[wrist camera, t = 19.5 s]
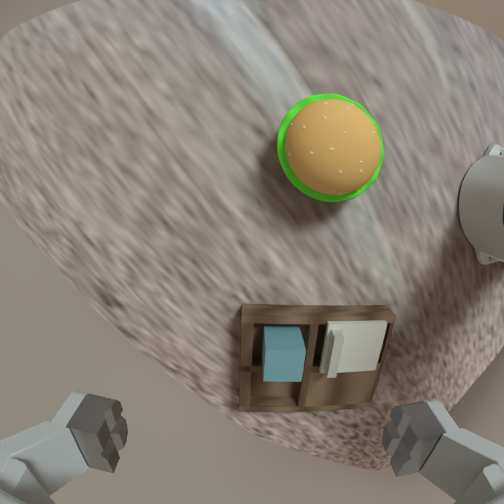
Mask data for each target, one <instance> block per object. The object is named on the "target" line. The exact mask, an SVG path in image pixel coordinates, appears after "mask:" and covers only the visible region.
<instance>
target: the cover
mask: <svg viewBox="0 0 504 504" xmlns="http://www.w3.org/2000/svg"><path fill="white" fill-rule="evenodd" d="M386 327H387V322H386V320H372V321H327V327H326V333H325V339H324V345H323V351H322V357H321V362H320V368H319V371H320V373H326V376H327V378H334V377H336V375H337V373H342V372H359V371H373V370H376V366H377V362H378V359H379V355H380V351H381V348H382V344H383V340H384V336H385V331H386Z"/></svg>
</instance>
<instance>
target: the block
mask: <svg viewBox="0 0 504 504" xmlns="http://www.w3.org/2000/svg"><path fill="white" fill-rule="evenodd" d="M305 355H306V348H305V345H304V341H303V338H302V334H301V331H300V327H299V324H263V338H262V366H263V381H266V382H301V380H302V374H303V368H304V361H305Z"/></svg>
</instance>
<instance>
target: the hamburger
mask: <svg viewBox="0 0 504 504" xmlns="http://www.w3.org/2000/svg"><path fill="white" fill-rule="evenodd" d="M277 154H278V159H279V162H280V164H281V167H282V169H283V171H284V173H285V175H286V176H287V178H288V179H289V180H290V182H291V183H292V184H293V185H294V186H295V187H296V188H297V189H299V190H300V191H301V192H303V193H304V194H306V195H308V196H310V197H312V198H314V199H317V200H321V201H325V202H339V201H345V200H349V199H352V198H355V197H357V196H359V195H360V194H361V193H363V192H364V191H365V190H366V189H367V188H368V187H369V186H370V185H371V184H373V182H374V181H375V180H376V178H377V176H378V173H379V170H380V167H381V164H382V161H383V157H384V148H383V143H382V138H381V133H380V129H379V126H378V125H377V123H376V122H375V121H374V119H373V118H372V117H371V116H370V114H369V113H368V112H367V111H366V109H365V108H364V107H363V106H362V105H361V104H359V103H357V102H355V101H353V100H351V99H348V98H346V97H344V96H341V95H338V94H319V95H313V96H309V97H307V98H305V99H303V100H301V101H300V102H298V103H297V104H296V105H294V106H293V107H292V108H291V109H290V110H289V111H288V113H287V114H286V115H285V117H284V119H283V121H282V122H281V125H280V127H279V131H278V136H277Z"/></svg>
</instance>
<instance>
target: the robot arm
mask: <svg viewBox="0 0 504 504" xmlns="http://www.w3.org/2000/svg"><path fill="white" fill-rule="evenodd" d="M499 154H500V155H499ZM459 216H460V222H461V226H462V229H463V231H464V234H465V236H466V237H467V239H468V241H469V242H470V243H471V244H472V246H473V247H474V249H475V253H476V257H477V260H478V262H479V263H480V264H483V265H487V264H491V263H495V262H498V261H502V262H504V149H503V148H502V147H500V146H499V145H497V144H491V145H490V146H489V147H488V149H487V151H486V153H485V155H484V156H483V157H482V158H481V159H479V160H478V161H476V162H475V163H474V164H473V165H472V166H471V167H470V169H469V170H468V172H467V174H466V175H465V178H464V180H463V183H462V186H461V191H460V197H459ZM122 410H123V409H122V406H121V403H120V402H119V401H118V400H114V399H110V398H105V397H101V396H97V395H93V394H88V393H84V392H80V391H76V390H75V391H73V392H72V393H71V394H70V395H69V397H68V398H67V399H66V401H65V402H64V404H63V405H62V407H61V408H60V409H59V411H58V412H57V414H56V415H55V416H54V418H53V419H52V421H51V422H49V421H45V422H43V423H41V424H39V425H36V426H34V427H32V428H29V429H27V430H25V431H22V432H20V433H17V434H15V435H13V436H10V437H8V438H5V439H3V440H1V441H0V504H55V503H54V501H52V499H51V498H50V495H51V494H53V493H54V492H56V491H57V490H58V489H60V488H61V487H63V486H64V485H66V484H67V483H68V482H70V481H71V480H73V479H74V478H76V477H77V476H79V475H80V474H81V473H83V472H84V471H85V470H87V469H88V467H91V468H95V469H99V470H103V471H107V472H111V473H114V471H115V468H116V466H117V463H118V461H119V459H120V457H119V454H118V452H117V451H119V450H120V449H122V448H123V447H124V446H125V443H126V441H127V434H128V429H127V423H126V420H125V419H124V418H123V417H122V416H121V412H122ZM390 416H391V418H392V420H391V421H390V422H389V423H388V424H387V425H386V426H385V429H384V431H383V446H384V449H385V451H386V452H387V453H388V454H390V455H392V458H391V460H390V463H391V465H392V468H393V470H394V473H395V475H396V477H397V476H402V475H406V474H411V473H415V472H419V471H420V472H419V473H420V474H422V475H423V476H424V477H425V478H427V479H428V480H429V481H431V482H432V483H433V484H435V485H436V486H437V487H439V488H440V489H442V490H443V491H444V492H445V493H447V494H448V495H449V496H451V497H452V498H453V499H455V500H456V502H455V503H454V504H504V447H501V446H499V445H497V444H495V443H493V442H491V441H488V440H486V439H484V438H482V437H480V436H478V435H476V434H474V433H472V432H469V431H467V430H465V429H463V428H462V429H459V428H458V427H457V425H456V424H455V422H454V421H453V419H452V418H451V417H450V415H449V414H448V412H447V411H446V409H445V408H444V407H443V405H442V404H441V402H440V401H439V400H437V399H431V400H426V401H422V402H416V403H411V404H405V405H399V406H395V407H394V408H393V409H392V412H391V414H390Z"/></svg>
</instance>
